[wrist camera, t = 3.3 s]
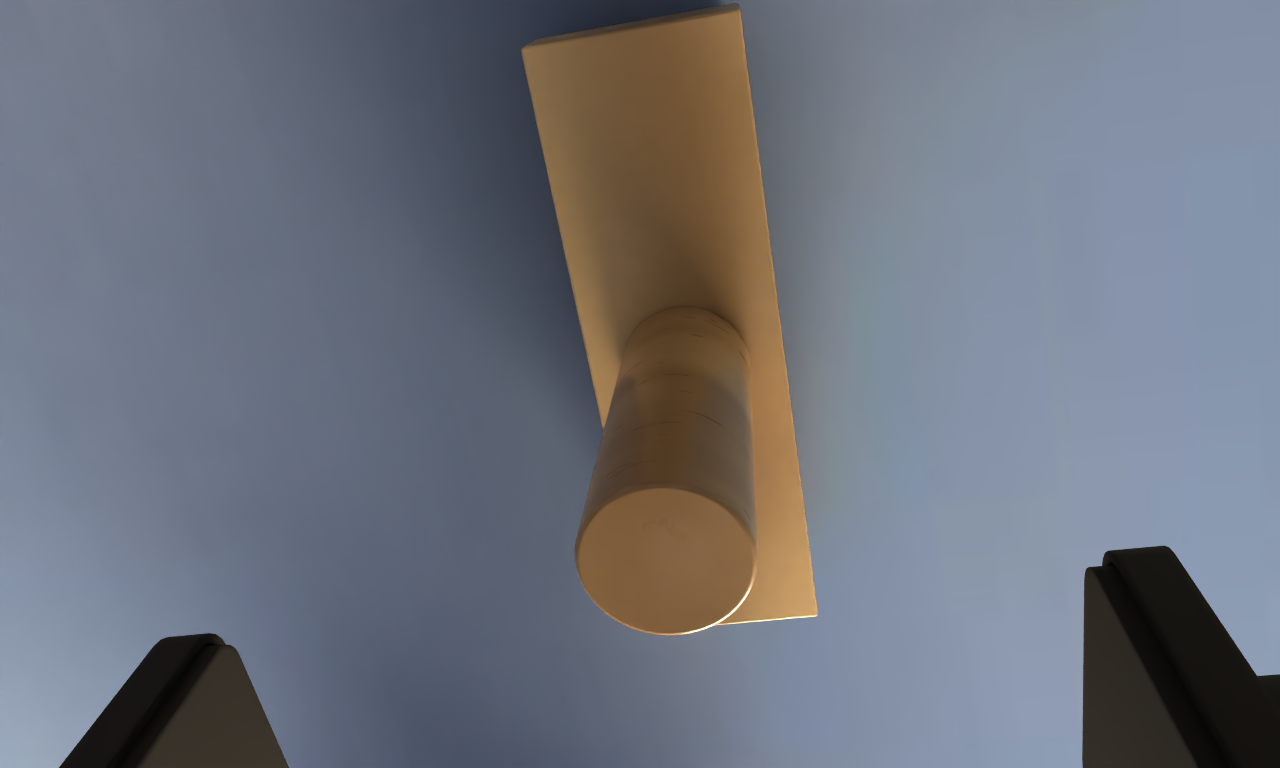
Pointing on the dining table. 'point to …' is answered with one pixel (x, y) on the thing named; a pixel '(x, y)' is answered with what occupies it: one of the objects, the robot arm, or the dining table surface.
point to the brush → (675, 323)
